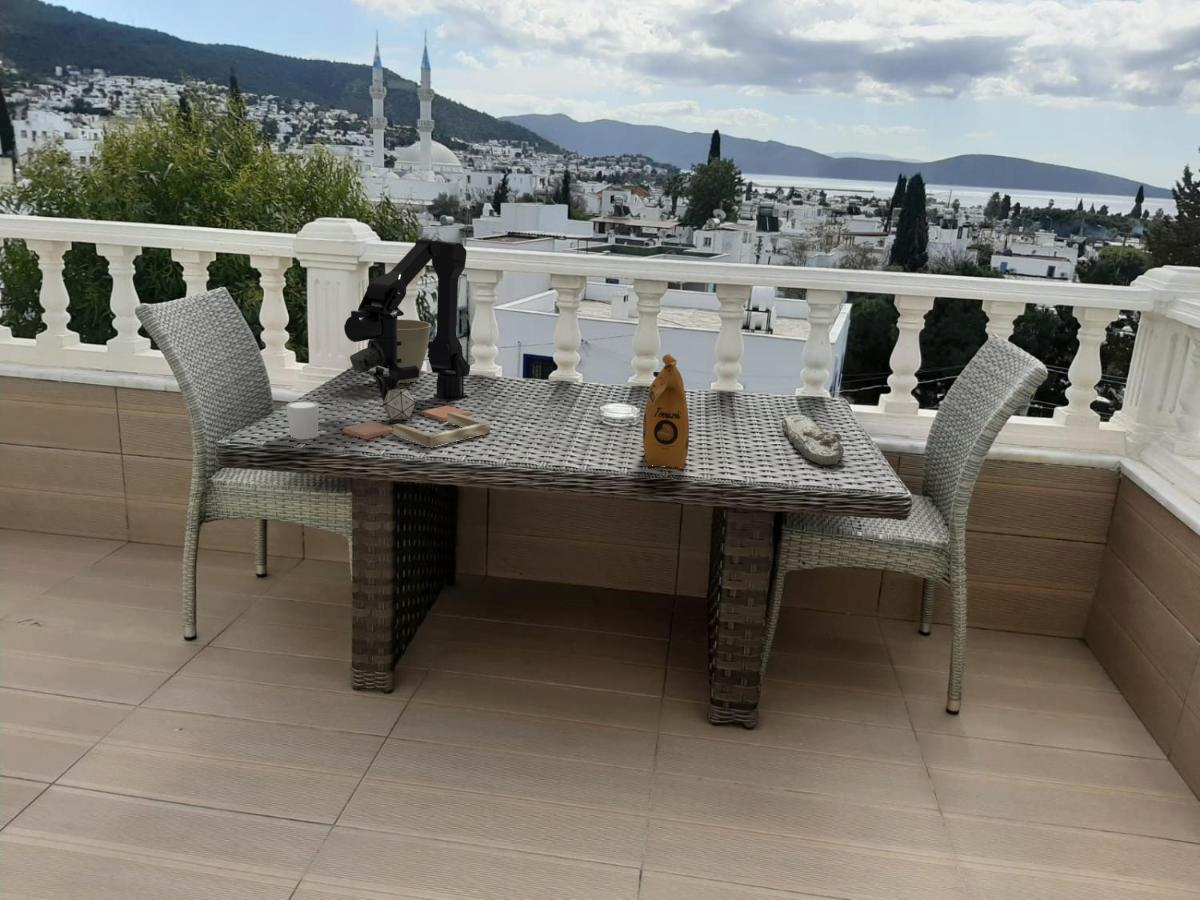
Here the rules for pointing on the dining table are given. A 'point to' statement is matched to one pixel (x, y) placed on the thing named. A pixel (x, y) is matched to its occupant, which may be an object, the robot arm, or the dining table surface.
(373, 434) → the tile
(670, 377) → the coffee package
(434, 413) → the tile
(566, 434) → the dining table surface
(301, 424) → the shot glass
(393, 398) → the game die
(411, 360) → the plant pot
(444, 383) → the robot arm
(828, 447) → the elongated rock
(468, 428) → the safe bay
